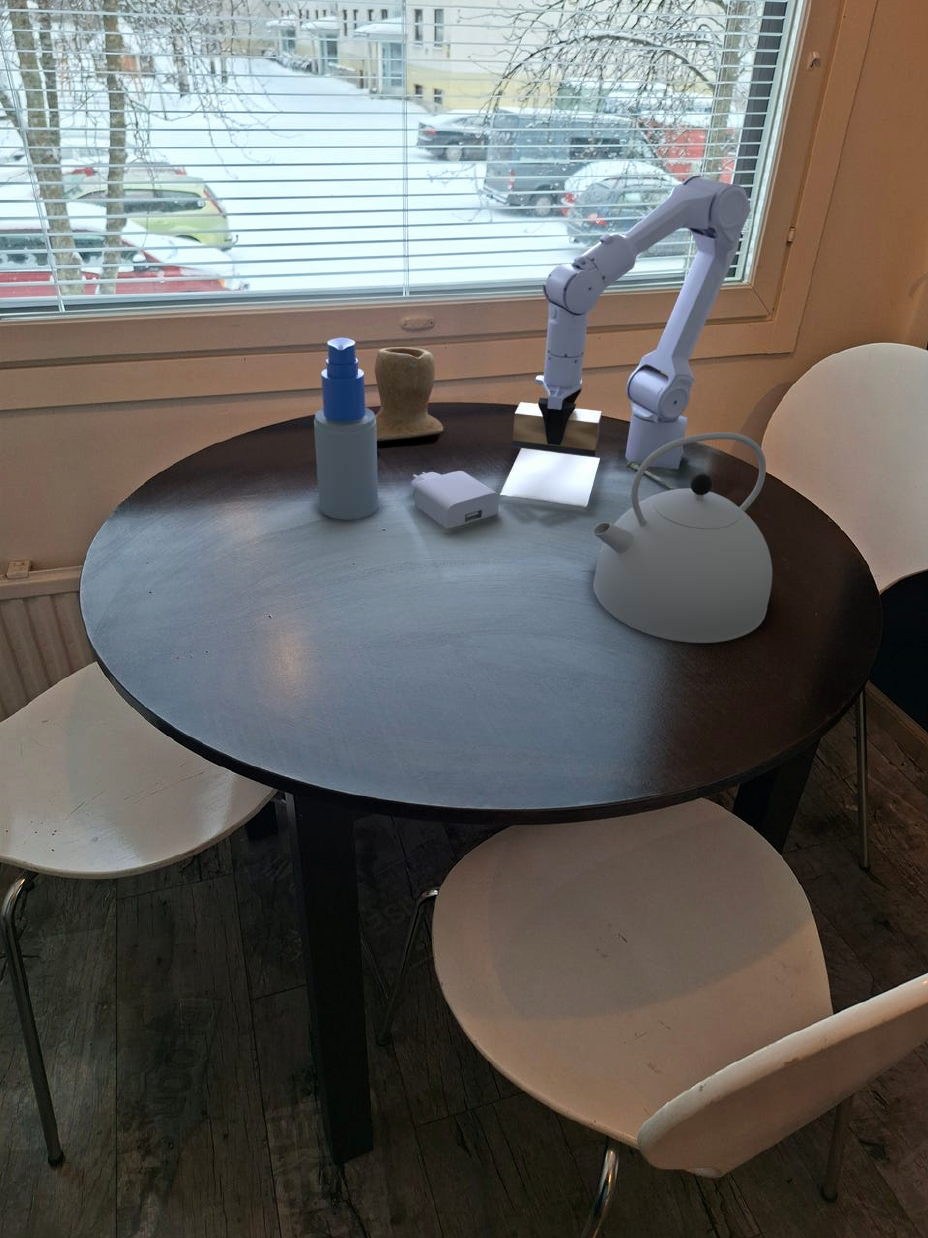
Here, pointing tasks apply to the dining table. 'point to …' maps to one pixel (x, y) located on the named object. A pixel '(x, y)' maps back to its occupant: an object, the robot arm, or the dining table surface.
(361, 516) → the spray bottle
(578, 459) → the whiteboard
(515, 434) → the eraser
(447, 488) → the charger
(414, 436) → the stone cup
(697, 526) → the kettle
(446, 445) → the dining table surface
